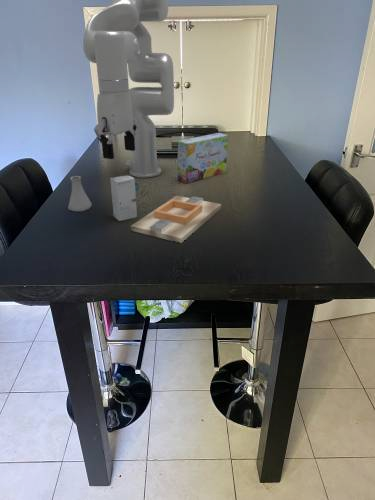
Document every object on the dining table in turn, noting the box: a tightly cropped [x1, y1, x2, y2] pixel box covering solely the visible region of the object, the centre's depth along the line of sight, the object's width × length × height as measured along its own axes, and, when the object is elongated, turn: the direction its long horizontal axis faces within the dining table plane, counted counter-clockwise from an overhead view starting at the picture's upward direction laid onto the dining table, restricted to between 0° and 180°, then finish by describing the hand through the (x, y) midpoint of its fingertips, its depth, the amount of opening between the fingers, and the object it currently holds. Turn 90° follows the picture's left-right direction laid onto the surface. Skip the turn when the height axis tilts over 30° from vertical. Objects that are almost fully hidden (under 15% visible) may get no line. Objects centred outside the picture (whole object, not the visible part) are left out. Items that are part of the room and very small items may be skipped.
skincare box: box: [109, 174, 138, 222], centre depth 111 cm, size 6×4×12 cm
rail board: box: [130, 195, 222, 244], centre depth 112 cm, size 16×26×4 cm, turn 152°
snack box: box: [177, 132, 229, 184], centre depth 143 cm, size 21×6×15 cm, turn 131°
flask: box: [67, 175, 93, 212], centre depth 118 cm, size 7×7×10 cm
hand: (119, 154), depth 104 cm, fingers open, 9 cm apart
